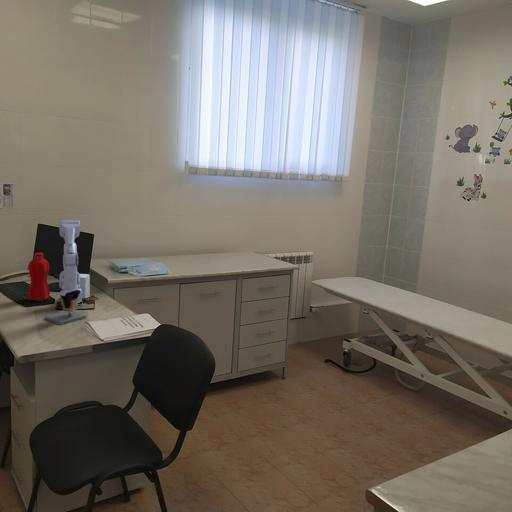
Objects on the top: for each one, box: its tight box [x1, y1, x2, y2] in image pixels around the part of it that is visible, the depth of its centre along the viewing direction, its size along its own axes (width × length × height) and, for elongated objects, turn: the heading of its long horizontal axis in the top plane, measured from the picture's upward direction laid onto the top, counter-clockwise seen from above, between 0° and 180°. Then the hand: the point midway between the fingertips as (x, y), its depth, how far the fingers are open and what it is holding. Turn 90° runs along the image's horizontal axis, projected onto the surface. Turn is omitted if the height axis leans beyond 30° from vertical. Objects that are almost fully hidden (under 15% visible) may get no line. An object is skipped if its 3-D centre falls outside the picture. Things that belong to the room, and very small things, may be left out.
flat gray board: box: [44, 311, 87, 325], centre depth 235 cm, size 14×12×1 cm
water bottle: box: [26, 252, 51, 300], centre depth 260 cm, size 9×11×25 cm
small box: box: [79, 273, 91, 298], centre depth 267 cm, size 8×6×13 cm
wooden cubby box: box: [62, 298, 79, 312], centre depth 235 cm, size 5×5×5 cm
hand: (70, 306), depth 235 cm, fingers closed on wooden cubby box, 5 cm apart
